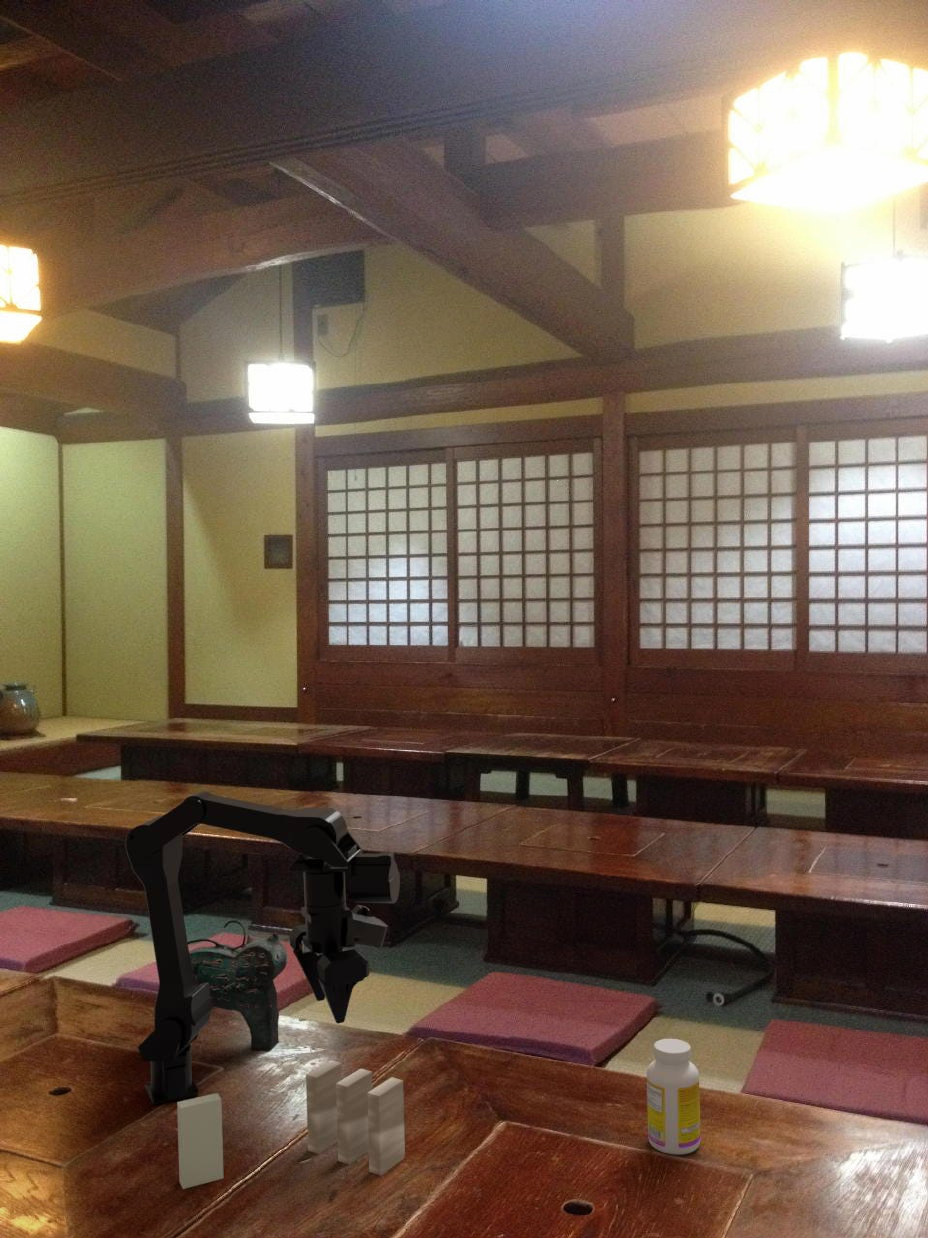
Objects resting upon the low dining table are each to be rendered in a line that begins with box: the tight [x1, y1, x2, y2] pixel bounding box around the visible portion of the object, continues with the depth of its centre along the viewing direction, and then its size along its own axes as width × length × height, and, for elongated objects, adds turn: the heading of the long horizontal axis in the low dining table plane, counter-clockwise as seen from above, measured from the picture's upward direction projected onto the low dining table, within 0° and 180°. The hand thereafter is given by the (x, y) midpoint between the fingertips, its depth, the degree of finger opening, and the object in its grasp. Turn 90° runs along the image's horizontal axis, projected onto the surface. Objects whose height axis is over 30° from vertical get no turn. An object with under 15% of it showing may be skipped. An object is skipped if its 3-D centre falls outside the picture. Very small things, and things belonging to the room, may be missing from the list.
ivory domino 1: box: [305, 1059, 343, 1155], centre depth 146 cm, size 2×5×10 cm, turn 147°
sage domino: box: [176, 1092, 224, 1190], centre depth 137 cm, size 2×5×10 cm, turn 117°
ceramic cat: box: [187, 919, 288, 1052], centre depth 178 cm, size 20×6×20 cm, turn 77°
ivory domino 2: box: [336, 1068, 373, 1165], centre depth 143 cm, size 2×5×10 cm, turn 147°
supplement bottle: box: [646, 1038, 701, 1156], centre depth 144 cm, size 7×7×13 cm
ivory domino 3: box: [368, 1076, 406, 1177], centre depth 140 cm, size 2×5×10 cm, turn 147°
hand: (330, 1011), depth 157 cm, fingers open, 9 cm apart
